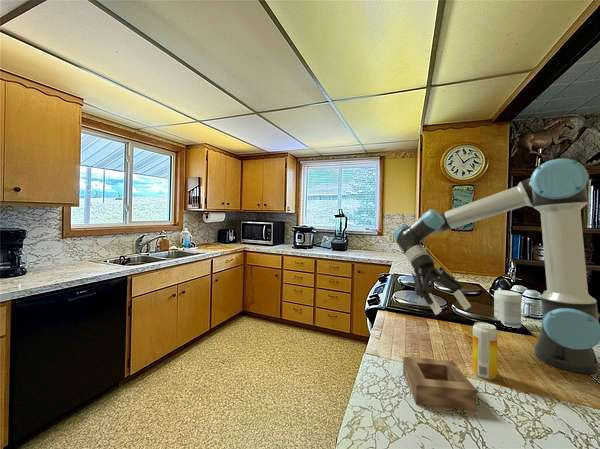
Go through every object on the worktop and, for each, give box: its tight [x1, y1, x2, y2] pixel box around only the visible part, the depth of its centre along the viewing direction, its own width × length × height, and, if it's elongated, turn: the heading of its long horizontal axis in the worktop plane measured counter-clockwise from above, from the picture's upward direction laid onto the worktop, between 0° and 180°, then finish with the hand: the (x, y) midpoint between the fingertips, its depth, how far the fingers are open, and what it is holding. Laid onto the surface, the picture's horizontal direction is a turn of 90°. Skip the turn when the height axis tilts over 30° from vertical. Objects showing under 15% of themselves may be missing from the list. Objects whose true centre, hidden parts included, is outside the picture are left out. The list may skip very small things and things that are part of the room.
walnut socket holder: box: [402, 356, 478, 412], centre depth 73 cm, size 14×14×5 cm
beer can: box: [471, 321, 498, 381], centre depth 81 cm, size 6×6×15 cm
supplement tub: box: [493, 289, 522, 329], centre depth 120 cm, size 10×10×15 cm
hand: (453, 310), depth 90 cm, fingers open, 13 cm apart
